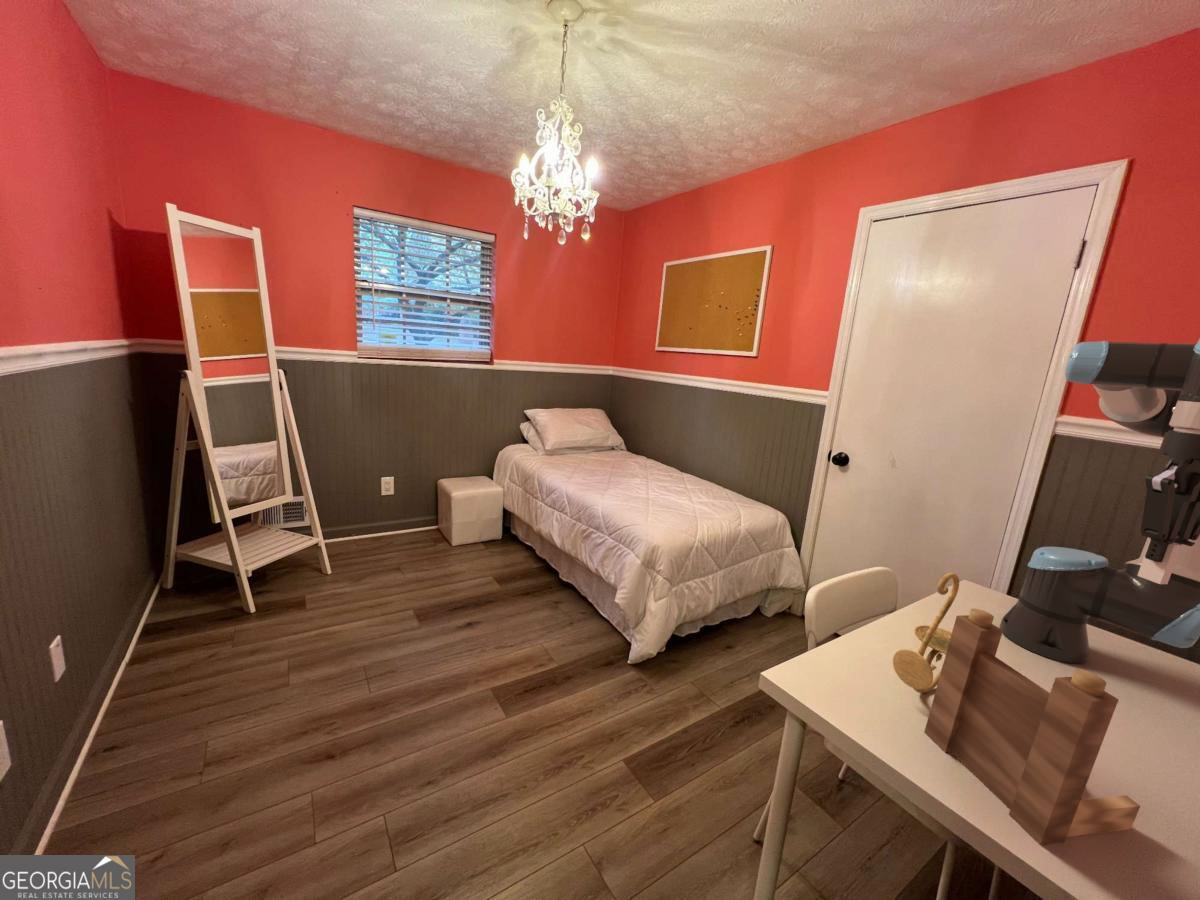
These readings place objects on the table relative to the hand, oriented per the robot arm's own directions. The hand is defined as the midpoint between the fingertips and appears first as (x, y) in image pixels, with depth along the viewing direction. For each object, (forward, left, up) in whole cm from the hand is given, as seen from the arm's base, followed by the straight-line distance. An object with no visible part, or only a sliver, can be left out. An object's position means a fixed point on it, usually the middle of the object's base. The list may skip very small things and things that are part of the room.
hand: (1152, 579), depth 72 cm
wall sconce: (+21, -13, -31) cm, 39 cm away
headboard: (+22, +5, -30) cm, 38 cm away
